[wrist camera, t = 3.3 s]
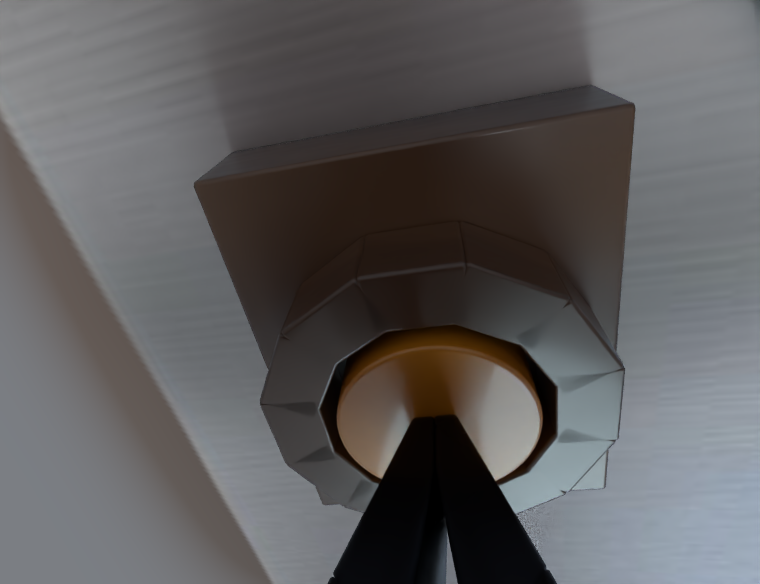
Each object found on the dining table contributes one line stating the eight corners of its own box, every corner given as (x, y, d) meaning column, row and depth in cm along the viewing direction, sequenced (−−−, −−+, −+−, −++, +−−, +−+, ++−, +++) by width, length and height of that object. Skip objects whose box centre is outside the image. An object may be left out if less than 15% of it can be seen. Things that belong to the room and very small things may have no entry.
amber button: (528, 424, 11) (545, 488, 10) (367, 437, 12) (359, 499, 10) (522, 282, 9) (542, 335, 8) (327, 307, 10) (312, 360, 8)
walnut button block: (582, 427, 15) (632, 556, 11) (333, 447, 16) (310, 568, 12) (595, 83, 10) (693, 126, 6) (229, 152, 11) (143, 219, 7)
